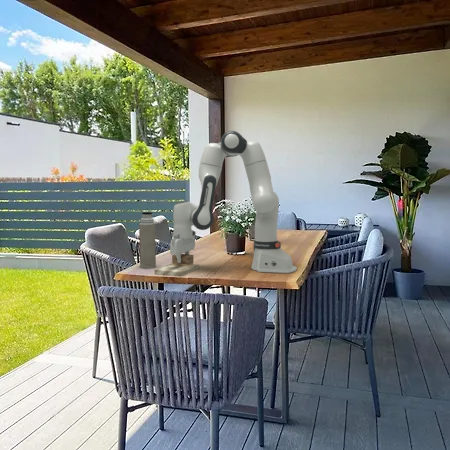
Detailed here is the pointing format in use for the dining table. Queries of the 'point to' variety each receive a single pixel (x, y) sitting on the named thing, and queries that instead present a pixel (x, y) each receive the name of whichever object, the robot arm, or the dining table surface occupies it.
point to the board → (176, 270)
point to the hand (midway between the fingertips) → (182, 261)
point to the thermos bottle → (147, 241)
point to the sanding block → (183, 260)
